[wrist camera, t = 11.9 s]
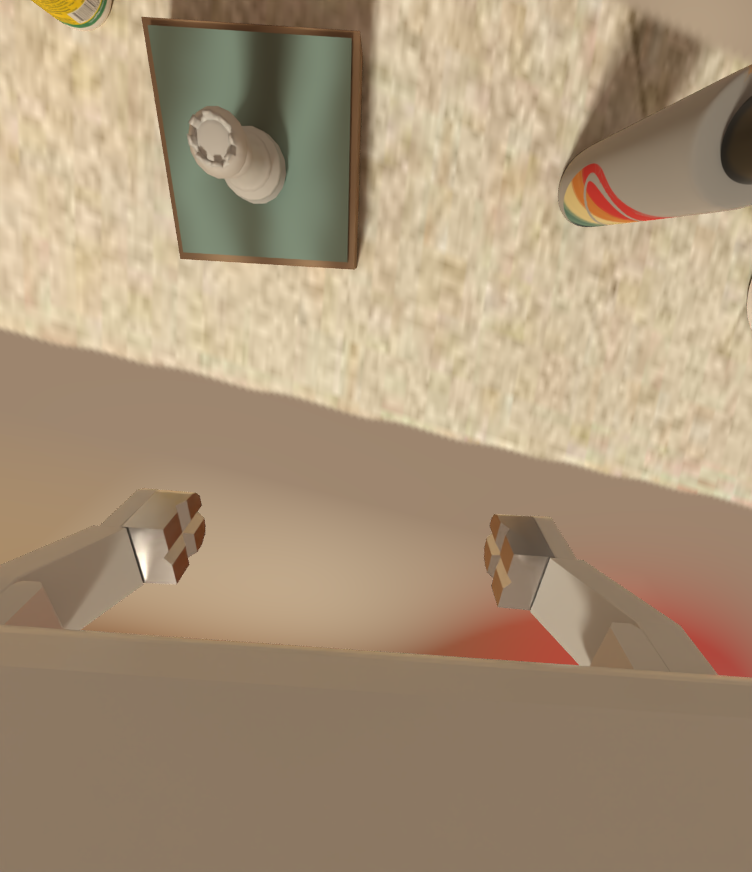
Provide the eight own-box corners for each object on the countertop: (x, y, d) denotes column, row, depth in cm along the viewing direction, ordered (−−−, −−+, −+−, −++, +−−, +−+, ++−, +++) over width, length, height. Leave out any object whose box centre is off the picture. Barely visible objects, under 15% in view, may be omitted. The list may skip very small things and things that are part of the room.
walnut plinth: (362, 57, 27) (359, 27, 24) (356, 267, 33) (353, 269, 30) (170, 44, 27) (137, 13, 23) (200, 258, 33) (178, 258, 30)
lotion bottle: (567, 241, 32) (797, 228, 14) (547, 171, 30) (789, 51, 12) (635, 204, 31) (984, 138, 13) (619, 128, 29) (1012, -78, 11)
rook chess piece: (255, 218, 28) (211, 207, 21) (212, 159, 27) (150, 125, 20) (300, 178, 27) (270, 151, 20) (258, 113, 26) (209, 60, 18)
